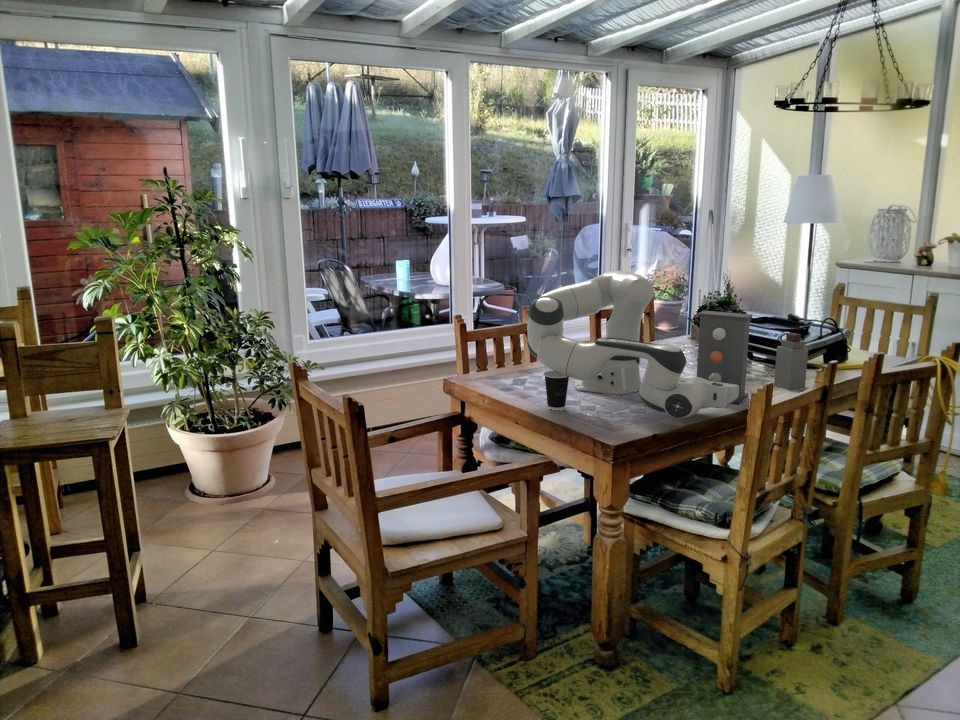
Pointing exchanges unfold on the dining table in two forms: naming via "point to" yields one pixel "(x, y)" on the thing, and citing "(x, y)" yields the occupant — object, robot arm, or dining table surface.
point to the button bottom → (715, 377)
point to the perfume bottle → (791, 363)
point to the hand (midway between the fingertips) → (710, 382)
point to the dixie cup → (556, 389)
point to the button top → (719, 333)
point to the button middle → (716, 356)
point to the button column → (724, 348)
